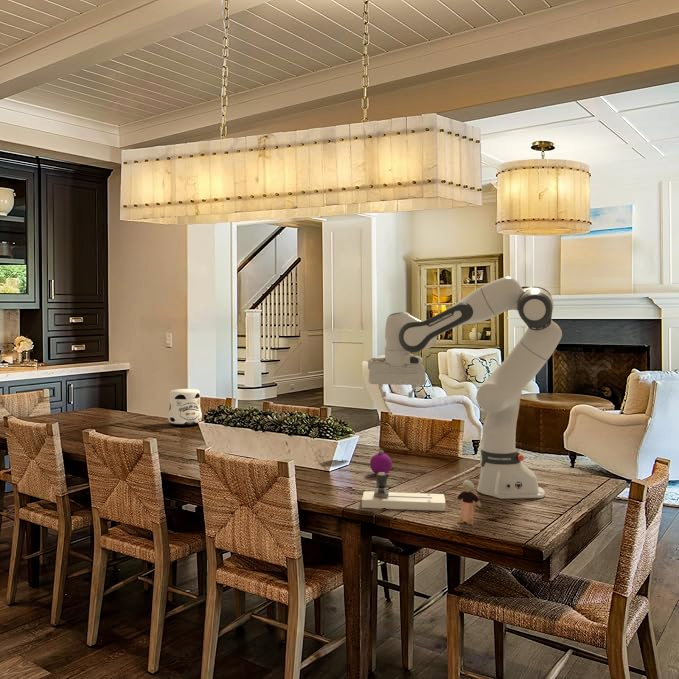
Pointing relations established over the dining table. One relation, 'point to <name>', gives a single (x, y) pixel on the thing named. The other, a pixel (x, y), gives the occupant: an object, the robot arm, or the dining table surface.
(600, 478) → the dining table surface
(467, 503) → the grandmother figurine
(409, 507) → the fader console
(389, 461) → the christmas ornament
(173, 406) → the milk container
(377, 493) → the fader
